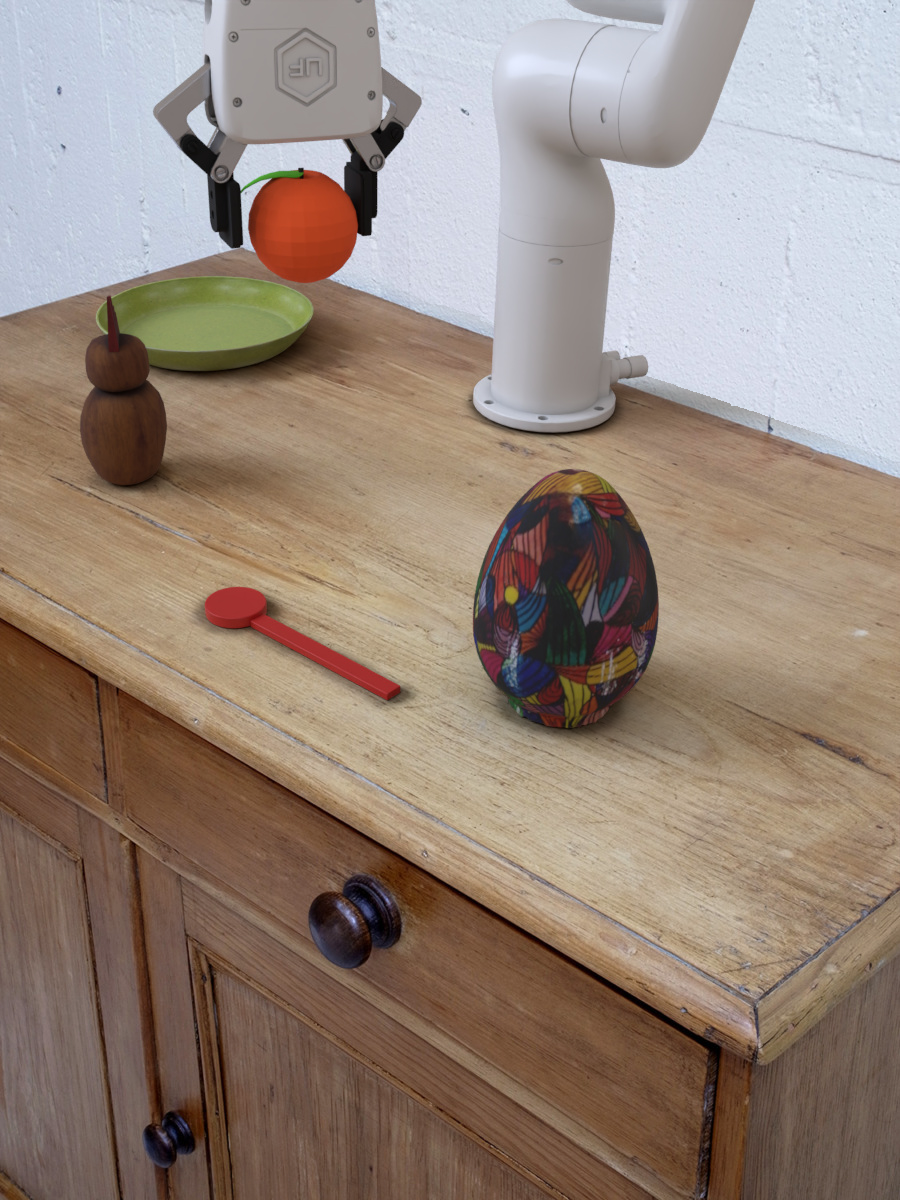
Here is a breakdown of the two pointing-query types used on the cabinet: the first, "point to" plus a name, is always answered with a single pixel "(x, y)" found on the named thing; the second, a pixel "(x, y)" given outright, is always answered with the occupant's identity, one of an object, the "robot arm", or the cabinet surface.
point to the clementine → (302, 225)
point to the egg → (566, 601)
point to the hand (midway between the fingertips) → (295, 235)
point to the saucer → (210, 320)
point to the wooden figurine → (121, 408)
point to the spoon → (288, 636)
